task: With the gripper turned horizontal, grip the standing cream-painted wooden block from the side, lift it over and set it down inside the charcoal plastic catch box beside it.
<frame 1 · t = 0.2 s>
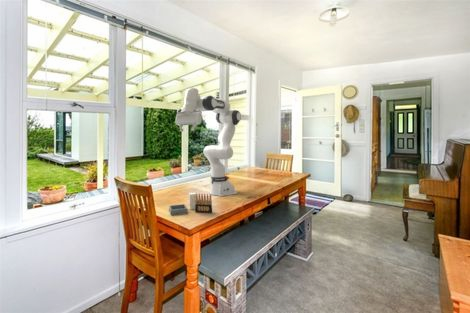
hand: (186, 131, 166), 51 cm above the table, tool tilted 15°, fingers open, 8 cm apart
catch box: (178, 211, 159), on the table
cream block: (192, 208, 165), on the table
ammunition clip: (203, 212, 158), on the table
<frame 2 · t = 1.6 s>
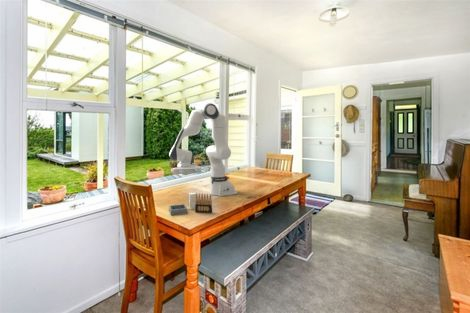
hand: (188, 171, 174), 22 cm above the table, tool horizontal, fingers open, 8 cm apart
nothing on the table moved.
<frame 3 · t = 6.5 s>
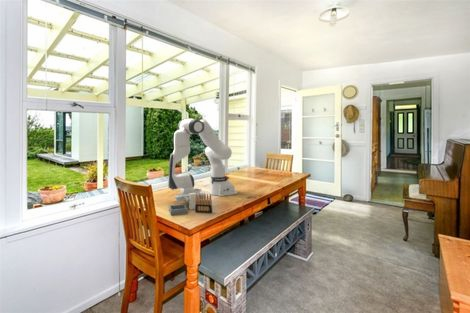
hand: (192, 199, 164), 6 cm above the table, tool horizontal, fingers closed on cream block, 4 cm apart
cream block: (192, 208, 165), on the table, touching gripper
everything else where it was.
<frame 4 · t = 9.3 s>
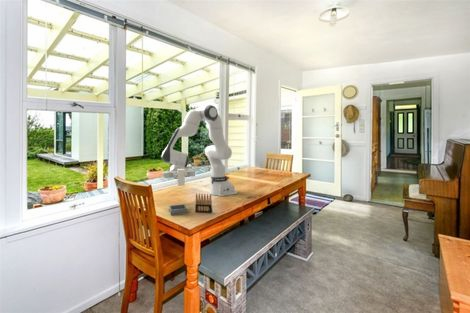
hand: (181, 175, 157), 23 cm above the table, tool horizontal, fingers closed on cream block, 4 cm apart
cream block: (181, 185, 158), point 17 cm above the table, touching gripper
everything else where it was.
when the fingers open (8 cm above the table, at t = 12.5 s): cream block drops 1 cm, resting on catch box.
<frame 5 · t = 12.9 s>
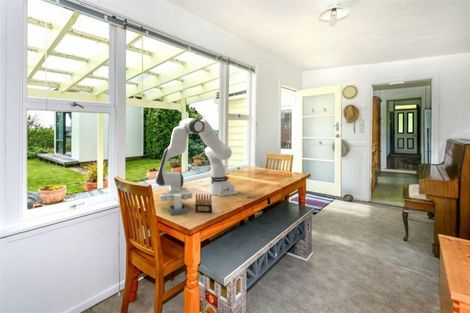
hand: (177, 199, 157), 8 cm above the table, tool horizontal, fingers open, 8 cm apart
cream block: (178, 210, 159), point 1 cm above the table, touching catch box
everything else where it was.
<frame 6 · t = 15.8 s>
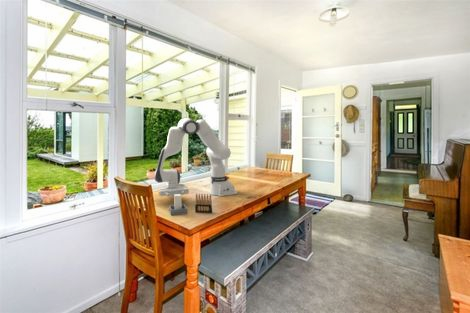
hand: (175, 194, 169), 8 cm above the table, tool horizontal, fingers open, 8 cm apart
nothing on the table moved.
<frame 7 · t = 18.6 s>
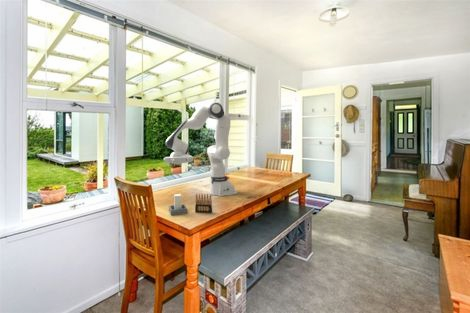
hand: (180, 160, 175), 30 cm above the table, tool horizontal, fingers open, 8 cm apart
nothing on the table moved.
at the end: cream block inside the target area on the catch box (0.0 cm from its centre), point 0.8 cm above the catch box's base; cream block tilted 0°; the gripper is holding nothing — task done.
